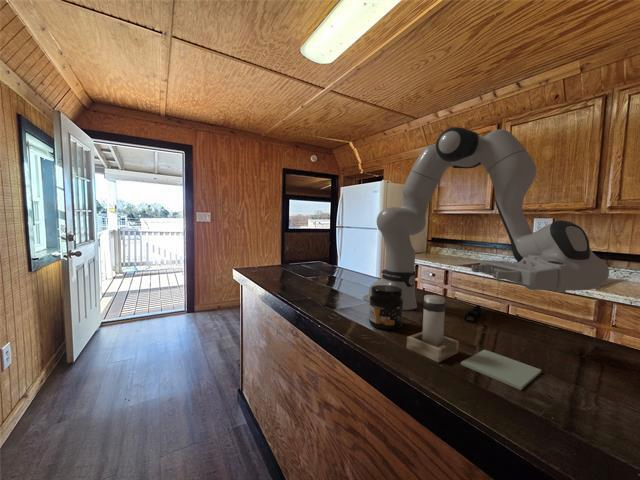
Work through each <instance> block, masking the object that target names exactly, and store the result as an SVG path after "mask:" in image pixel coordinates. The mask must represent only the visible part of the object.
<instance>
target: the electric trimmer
mask: <svg viewBox="0 0 640 480" xmlns="http://www.w3.org/2000/svg"><path fill="white" fill-rule="evenodd" d="M482 312H483V310H482V307H481V306H480V305H476V306H475V307H473V308H472V309H470V310H469V312H467V313H466V314H465V315H464V321H465V322H468V323H473V324H476V323H477V321H478V317H481V316H482Z"/></svg>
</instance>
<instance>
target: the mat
mask: <svg viewBox="0 0 640 480" xmlns="http://www.w3.org/2000/svg"><path fill="white" fill-rule="evenodd" d="M460 365H461V366H463V367H466V368H468V369H470V370H473V371H475V372H477V373H480V374H482V375H484V376H487V377H490V378H491V379H493V380H495V381H499V382H501V383H504V384H506V385H507V386H510V387H513V388H515V389H517V390H519V391H521V390H524V388H525V387H526V386H527V385H528V384H530V383H531V382H532V381H533V380H534V379H535V378H536V377H537V376H539V375H540V374H541V373H542V369H540V368H537V367H535V366H532V365H530V364H529V365H528V364H526V363H524V362H521V361H518V360H515V359H513V358H510V357H507V356H504V355H501V354H498V353H496V352H492V351H491V350H490V351H489V350H487V349H483V350H481V351H479V352H477V353H475V354H473V355H472V356H470V357H468V358H465V359H464V360H462V361H460Z"/></svg>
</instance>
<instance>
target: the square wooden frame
mask: <svg viewBox="0 0 640 480" xmlns="http://www.w3.org/2000/svg"><path fill="white" fill-rule="evenodd" d="M422 333H423V331H420V332H417V333H414V334H412V335H409V336H406V349H407V350H410V351H413V352H414V353H417V354H418V355H421V356H423V357H424V358H425V357H426V358H427V359H430V360H432V361H434V362H436V363H440V362H442V361H444V360H446V359H448V358H450V357H452V356H454V355H456V354H458V353H459V343H460V341H458V340H456V339H453V338H451V337H448V336H445V335H443V345H442V346H440V347H435V346H433V345H430V344H428V343H425V342H423V341H422Z"/></svg>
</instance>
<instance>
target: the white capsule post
mask: <svg viewBox="0 0 640 480" xmlns="http://www.w3.org/2000/svg"><path fill="white" fill-rule="evenodd" d="M422 306H423V312H422V313H423V317H422V318H423V319H422V332H423V333H422V341H423V342H425V343H428V344H430V345H433V346H435V347H440V346H442V345H443V336H444V331H445V330H444V329H445V313H446V312H445V311H446V297H444V296H443V295H436V294H425V295H424V296H423V305H422Z"/></svg>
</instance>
